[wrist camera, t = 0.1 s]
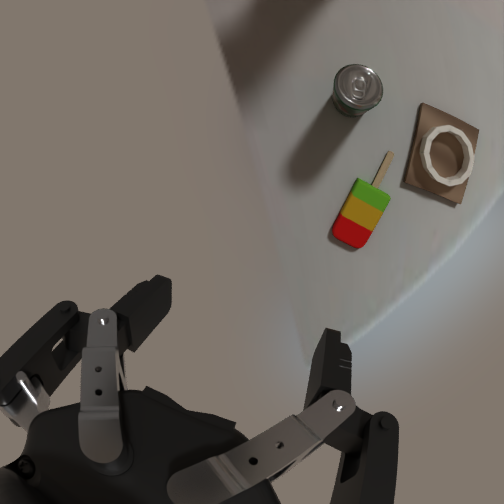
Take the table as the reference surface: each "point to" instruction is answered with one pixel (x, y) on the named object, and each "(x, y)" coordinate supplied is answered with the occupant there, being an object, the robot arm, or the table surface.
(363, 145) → the table surface
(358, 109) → the soda can
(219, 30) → the table surface
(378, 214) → the popsicle
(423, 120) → the socket plate
